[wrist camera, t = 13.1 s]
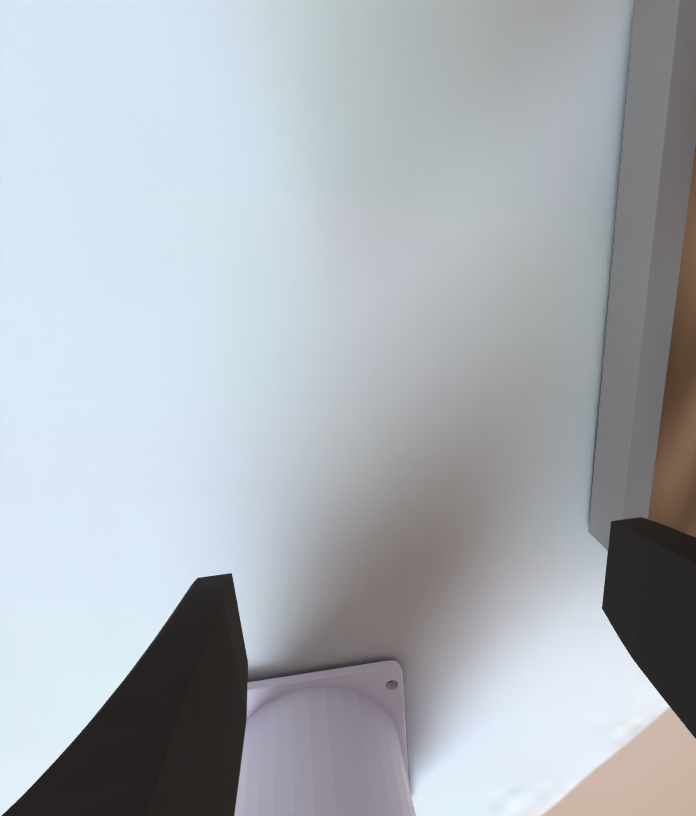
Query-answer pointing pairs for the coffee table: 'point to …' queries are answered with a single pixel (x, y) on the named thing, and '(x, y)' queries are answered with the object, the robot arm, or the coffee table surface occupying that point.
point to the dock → (645, 257)
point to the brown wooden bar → (679, 399)
